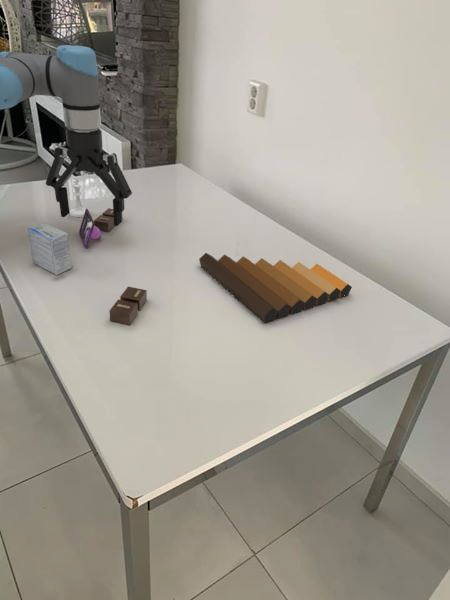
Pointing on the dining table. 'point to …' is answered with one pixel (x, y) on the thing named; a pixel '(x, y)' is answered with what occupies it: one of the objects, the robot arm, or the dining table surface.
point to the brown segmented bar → (128, 305)
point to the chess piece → (77, 201)
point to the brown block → (105, 221)
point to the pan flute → (275, 285)
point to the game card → (88, 229)
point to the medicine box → (50, 248)
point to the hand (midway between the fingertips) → (91, 219)
